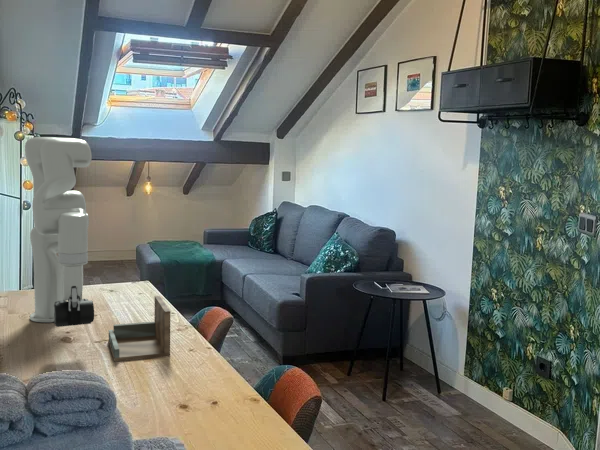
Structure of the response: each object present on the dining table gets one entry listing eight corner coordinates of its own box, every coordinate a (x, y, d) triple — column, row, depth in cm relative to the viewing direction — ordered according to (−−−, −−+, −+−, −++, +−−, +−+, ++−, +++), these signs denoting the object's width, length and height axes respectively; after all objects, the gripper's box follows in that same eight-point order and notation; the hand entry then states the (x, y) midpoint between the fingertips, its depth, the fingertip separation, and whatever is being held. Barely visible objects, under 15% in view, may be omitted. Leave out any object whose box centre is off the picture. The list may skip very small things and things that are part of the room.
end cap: (55, 330, 165) (55, 306, 164) (52, 322, 171) (52, 299, 170) (94, 327, 170) (94, 303, 169) (90, 319, 176) (90, 296, 175)
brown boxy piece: (108, 341, 184) (108, 298, 182) (159, 336, 189) (159, 295, 188) (114, 361, 167) (114, 315, 166) (170, 356, 173) (170, 311, 171)
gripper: (57, 251, 174) (58, 311, 177) (59, 265, 158) (59, 331, 161) (85, 250, 177) (85, 309, 180) (89, 264, 161) (89, 329, 164)
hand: (73, 319), depth 170 cm, fingers closed on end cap, 7 cm apart
